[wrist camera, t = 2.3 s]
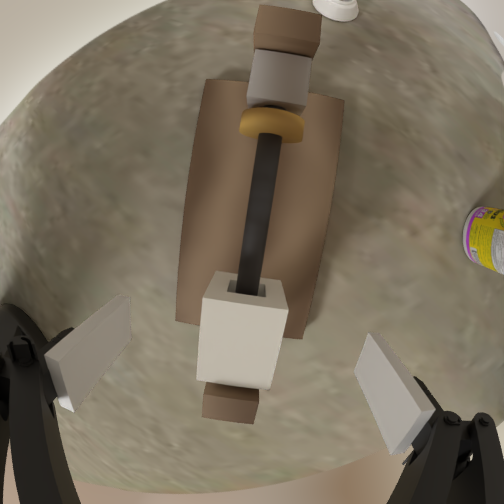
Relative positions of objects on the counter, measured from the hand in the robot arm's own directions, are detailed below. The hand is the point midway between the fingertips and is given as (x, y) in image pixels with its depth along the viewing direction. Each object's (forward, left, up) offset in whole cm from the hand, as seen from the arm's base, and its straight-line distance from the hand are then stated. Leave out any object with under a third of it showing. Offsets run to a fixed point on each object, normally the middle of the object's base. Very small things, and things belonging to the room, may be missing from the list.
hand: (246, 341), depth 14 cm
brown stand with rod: (0, +6, -11) cm, 13 cm away
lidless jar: (+5, +30, -12) cm, 33 cm away
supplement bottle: (+26, +8, -12) cm, 29 cm away
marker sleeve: (0, 0, -4) cm, 4 cm away
